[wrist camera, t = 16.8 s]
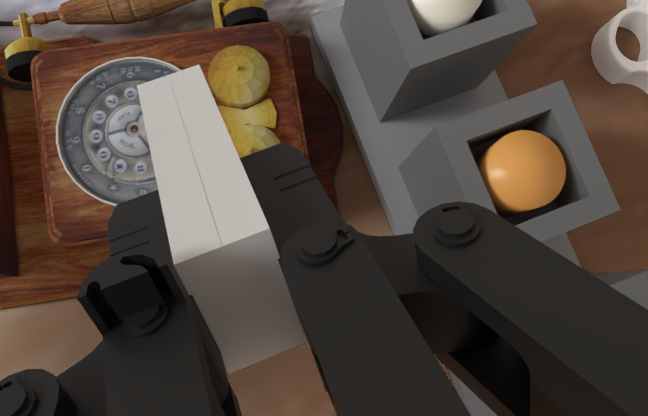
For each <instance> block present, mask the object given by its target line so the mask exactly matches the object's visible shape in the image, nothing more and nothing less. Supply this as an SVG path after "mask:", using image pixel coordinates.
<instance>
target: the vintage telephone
mask: <svg viewBox="0 0 648 416" xmlns="http://www.w3.org/2000/svg"><path fill="white" fill-rule="evenodd" d="M193 1H195V0H69V1H67V2H65V3H62V4H61V5H60V6H59V8H58V11H53V12H48V13H45V12H42V13H37V14H36V15H33V16H32V17H31V18H28V15H27V14H26V13H20V14H19V15H18V18H19V20H14V21H13V22H1V21H0V26H14V27H17V26H20V28H21V33H22V38H20V39H18V40H16V41H14V42H12V43H11V44H10V45H8V46H1V47H0V309H4V308H10V307H16V306H22V305H28V304H34V303H40V302H46V301H52V300H58V299H64V298H70V297H76V296H78V294H79V290H80V286H81V284H82V283H83V281H84V280H85V279H86V277H87V276H88V274H89V273H90V272H91V271H92V270H93V269H95V268H96V267H97V266H98V265H99V264H101V263H102V262H103V261H105V260H107V259H109V258H111V256H110V251H109V244H110V243H109V238H108V225H107V223H108V221H109V219H110V217H111V215H112V213H113V211H114V209H115V207H116V205H117V204H120V203H123V202H125V201H128V200H131V199H134V198H136V197H139V196H142V195H145V194H147V193H150V192H153V191H156V190H158V186H157V181H156V177H155V172H154V167H153V162H152V157H151V152H150V147H149V143H148V138H147V133H146V128H145V123H144V118H143V113H142V109H141V104H140V99H139V94H138V89H137V85H140V84H143V83H146V82H149V81H152V80H155V79H158V78H161V77H164V76H166V75H169V74H172V73H175V72H178V71H181V70H184V69H187V68H190V67H193V66H196V65H200V68H201V70H202V72H203V75H204V77H205V79H206V82H207V84H208V86H209V88H210V91H211V93H212V95H213V98H214V100H215V102H216V105H217V107H218V109H219V112H220V114H221V116H222V119H223V121H224V123H225V126H226V128H227V130H228V133H229V135H230V137H231V140H232V142H233V144H234V146H235V149H236V151H237V153H238V156H239V158H241V157H244V156H247V155H249V154H252V153H255V152H258V151H260V150H263V149H266V148H269V147H271V146H274V145H277V144H280V143H282V142H285V143H287V144H289V145H291V146H293V147H295V148H297V149H299V150H301V152H302V153H303V155H304V157H305V158H306V160H307V162H308V163H309V165H310V168H312V170H313V172H314V173H315V175H316V177H317V179H318V180H319V182H320V183H321V185H322V187H323V188H324V190H325V192H326V193H327V195H328V197H329V198H330V200H331V202H332V203H333V205H334V207H335V208H336V210H337V212H338V213H339V211H338V205H337V200H336V194H335V188H334V182H333V176H334V173H335V171H336V168H337V166H338V163H339V160H340V158H341V153H342V146H343V124H342V121H341V118H340V115H339V112H338V108H337V106H336V104H335V102H334V101H333V99H332V97H331V95H330V94H329V92H328V91H327V90H326V89H325V88H324V86H323V85H322V84H321V83H320V82H319V81H318V79H317V78H316V77H315V73H314V68H313V62H312V56H311V50H310V45H309V39H308V37H307V36H306V35H303V34H297V33H295V34H288V33H287V31H286V29H285V28H284V27H283V26H282V25H280V24H277V23H274V22H271V21H269V19H268V16H267V12H266V9H265V5H264V2H263V1H262V0H229V1H228V2H227V3H226V2H225V0H212V1H211V2H212V9H213V16H214V22H215V28H214V29H206V30H199V31H191V32H183V33H175V34H167V35H160V36H152V37H144V38H136V39H128V40H120V41H113V42H105V43H96V42H94V41H93V40H91V39H90V38H88V37H84V36H80V37H72V38H64V39H56V40H48V41H43V40H41V39H38V38H35V37H32V34H31V29H30V24H32V23H35V24H40V25H41V24H46V23H48V22H51V21H56V20H61V21H62V22H64V23H66V24H129V23H135V22H136V21H145V20H148V19H151V18H154V17H156V16H159V15H162V14H164V13H166V12H169V11H171V10H174V9H176V8H178V7H181V6H183V5H186V4H188V3H190V2H193ZM221 15H222V18H223V25H224V27H223V25H222V20H221Z"/></svg>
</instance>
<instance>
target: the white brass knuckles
mask: <svg viewBox="0 0 648 416" xmlns="http://www.w3.org/2000/svg"><path fill="white" fill-rule="evenodd" d="M618 27H623V28H626V29H629V30H630V31H632V32H633V33H634V34H635V35H636V37H637V38H638V40H639V43H640V54H639V58H638V61H637V62H635V61H632V60H629V59H627V58H626V57H625V56H623V55H622V54H621V52H620V51H619V49H618V48H617V45H616V40H615V36H616V32H617V29H618ZM591 56H592V60H593V63H594V66H595V68H596V69H597V71H598V72H599V74H600V75H601V76H602V77H603V78H604V79H605V80H607V81H608V82H610V83H611V84H618V83H627V84H631V85H634V86H637V87H639V88H640V89H642V90H643V91H644V92H646V93H647V94H648V0H627V9H625V10H623V11H621V12H620V13H618V14H617V15H616V16H615V17H613V18H612V19H611V20H610V21H609V22H607V23H606V24H605V25H604V26H603V27H601V28H600V29H599V30H598V32H597V33H596V34H595V36H594V38H593V41H592V45H591Z"/></svg>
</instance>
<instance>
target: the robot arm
mask: <svg viewBox="0 0 648 416" xmlns="http://www.w3.org/2000/svg"><path fill="white" fill-rule="evenodd" d="M137 89H138V94H139V99H140V104H141V109H142V113H143V118H144V123H145V128H146V133H147V138H148V143H149V147H150V152H151V157H152V162H153V167H154V172H155V177H156V181H157V186H158V190H156V191H153V192H150V193H147V194H145V195H142V196H139V197H136V198H134V199H131V200H128V201H125V202H123V203H120V204H117V205H116V207H115V209H114V211H113V213H112V215H111V217H110V219H109V221H108V223H107V225H108V238H109V243H110V244H109V251H110V256H111V258H109V259H107V260H105V261H103V262H102V263H101V264H99V265H98V266H97V267H96V268H95V269H93V270H92V271H91V272H90V273H89V274H88V276H87V277H86V279H85V280H84V281H83V283H82V284H81V286H80V290H79V294H78V298H77V299H78V300H79V302H80V303H81V305H82V306H83V308H84V309H85V311H86V312H87V313H88V315H89V316H90V318H91V319H92V321H93V322H94V324H95V325H96V327H97V328H98V330H99V331H100V332H101V334H102V337H103V341H102V342H101V343H100V344H99V345H98V346H97V347H96V348H95V349H94V351H92V352H91V353H90V354H89V355H87V356H86V357H85V358H84V359H82V360H81V361H80V362H78V363H77V364H75V365H74V366H72V367H71V368H69V369H68V370H66V371H65V372H63V373H62V374H60V375H59V376H57V377H55V376H54V375H53V374H51V373H49V372H47V371H45V370H43V369H28V370H24V371H21V372H18V373H15V374H13V375H10V376H8V377H6V378H5V379H3V380H2V381H0V416H242V415H241V411H240V407H239V403H238V400H237V398H236V396H235V394H234V392H233V390H232V388H231V386H230V384H229V382H228V378H227V374H226V371H225V367H226V368H227V370H228V372H229V374H231V373H233V372H235V371H238V370H240V369H243V368H245V367H248V366H250V365H253V364H255V363H257V362H260V361H262V360H265V359H267V358H270V357H272V356H274V355H277V354H279V353H282V352H284V351H287V350H289V349H291V348H294V347H296V346H299V345H301V344H304V343H306V342H309V345H310V347H311V350H312V353H313V356H314V359H315V361H316V364H317V367H318V370H319V373H320V376H321V378H322V381H323V384H324V387H325V390H326V391H328V394H329V396H330V399H331V401H332V404H333V406H334V409H335V411H336V414H337V416H471V414H470V413H469V411H468V410H467V408H466V406H465V405H464V403H463V401H462V400H461V398H460V397H459V395H458V393H457V392H456V390H455V388H454V387H453V385H452V383H451V382H450V380H449V379H448V377H447V375H446V374H445V372H444V370H443V369H442V367H441V366H440V364H439V362H438V361H437V359H436V357H437V358H438V359H439V360H440V361H441V362H442V363H443V364H444V365H445V366H446V367H447V368H448V369H449V370H450V371H451V372H452V373H453V374H454V375H455V376H456V377H457V378H458V379H460V380H461V381H462V382H463V383H464V384H465V385H466V386H467V387H468V388H469V389H470V390H471V391H472V392H473V393H474V394H475V395H476V396H477V397H478V398H479V399H480V400H481V401H482V402H484V403H485V404H486V405H487V406H488V407H489V408H490V409H491V410H492V411H493V412H494V413H495V414H496V415H497V416H648V310H647V309H646V308H644V307H643V306H641V305H639V304H638V303H636V302H635V301H633V300H631V299H630V298H628V297H627V296H625V295H624V294H622V293H620V292H619V291H617V290H616V289H614V288H613V287H611V286H609V285H608V284H606V283H605V282H603V281H601V280H600V279H598V278H597V277H595V276H594V275H592V274H590V273H589V272H587V271H586V270H584V269H583V268H581V267H579V266H578V265H576V264H575V263H573V262H572V261H570V260H568V259H567V258H565V257H564V256H562V255H560V254H559V253H557V252H556V251H554V250H553V249H551V248H549V247H548V246H546V245H545V244H543V243H542V242H540V241H538V240H537V239H535V238H534V237H532V236H530V235H529V234H527V233H526V232H524V231H523V230H521V229H519V228H518V227H516V226H515V225H513V224H512V223H510V222H508V221H507V220H505V219H504V218H502V217H500V216H499V215H497V214H496V213H494V212H493V211H491V210H489V209H487V208H485V207H483V206H480V205H478V204H475V203H468V202H452V203H445V204H441V205H438V206H436V207H434V208H431V209H429V210H427V211H426V212H425V213H424V214H423V215H422V216H421V217H419V218H418V219H417V222H416V224H415V226H414V228H413V233H409V234H402V235H395V236H381V237H378V236H369V235H365V234H362V233H359V232H357V231H356V230H355V229H354V228H353V227H352V226H350V225H347V224H346V223H345V222H344V221H343V220H342V218H341V217H340V215H339V213H338V212H337V210H336V208H335V207H334V205H333V203H332V202H331V200H330V198H329V197H328V195H327V193H326V192H325V190H324V188H323V187H322V185H321V183H320V182H319V180H318V179H317V177H316V175H315V173H314V172H313V170H312V168H310V165H309V163H308V162H307V160H306V158H305V157H304V155H303V153H302V152H301V150H299V149H297V148H295V147H293V146H291V145H289V144H287V143H285V142H282V143H280V144H277V145H274V146H271V147H269V148H266V149H263V150H260V151H258V152H255V153H252V154H249V155H247V156H244V157H241V158H239V156H238V153H237V151H236V149H235V146H234V144H233V142H232V140H231V137H230V135H229V133H228V130H227V128H226V126H225V123H224V121H223V119H222V116H221V114H220V112H219V109H218V107H217V105H216V102H215V100H214V98H213V95H212V93H211V91H210V88H209V86H208V84H207V82H206V79H205V77H204V75H203V72H202V70H201V68H200V65H196V66H193V67H190V68H187V69H184V70H181V71H178V72H175V73H172V74H169V75H166V76H164V77H161V78H158V79H155V80H152V81H149V82H146V83H143V84H140V85H137ZM434 354H435V355H436V357H435V356H434ZM224 365H225V367H224Z"/></svg>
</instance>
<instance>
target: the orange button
mask: <svg viewBox="0 0 648 416" xmlns="http://www.w3.org/2000/svg"><path fill="white" fill-rule="evenodd" d="M475 163H476V165H477V167H478V170H479V172H480V174H481V177H482V179H483V181H484V184H485V186H486V189H487V191H488V193H489V196H490V198H491V200H492V203H493V205H494V207H495V210H496V212H497V214H498V215H499V216H500V217H511V216H515V215H519V214H521V213H524V212H527V211H530V210H533V209H536V208H539V207H542V206H544V205H546V204H548V203H550V202H551V201H552V200H554V199H555V198H556V197H557V195H558V194H559V193H560V191H561V190H562V187H563V185H564V182H565V177H566V167H565V162H564V159H563V156H562V154H561V152H560V150H559V149H558V147H557V146H556V145H555V144H554V143H553V142H552V141H551V140H550V139H549V138H547V137H546V136H544V135H542V134H540V133H537V132H534V131H528V130H520V131H515V132H512V133H509V134H507V135H505V136H504V137H502V138H501V139H500V140H498V141H497V142H495V143H494V144H493V145H491V146H490V147H488V148H487V149H486V150H484V151H483V152H481V153H480V154H479V155H478V156H477V157H476V158H475Z"/></svg>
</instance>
